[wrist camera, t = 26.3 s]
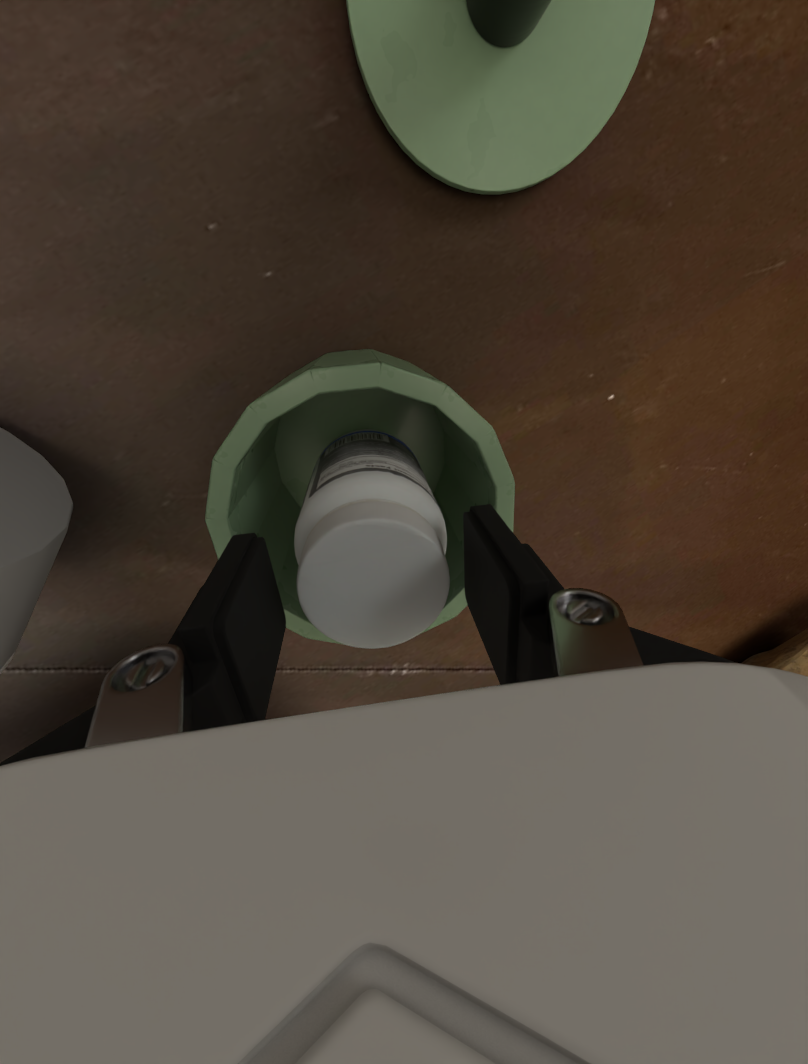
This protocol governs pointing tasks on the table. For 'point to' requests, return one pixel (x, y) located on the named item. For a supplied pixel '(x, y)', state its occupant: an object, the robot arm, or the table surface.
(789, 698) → the robot arm
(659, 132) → the table surface
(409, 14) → the tin lid
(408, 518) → the pill bottle
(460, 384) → the table surface
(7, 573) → the alarm clock
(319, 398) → the cup
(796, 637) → the oil lamp
